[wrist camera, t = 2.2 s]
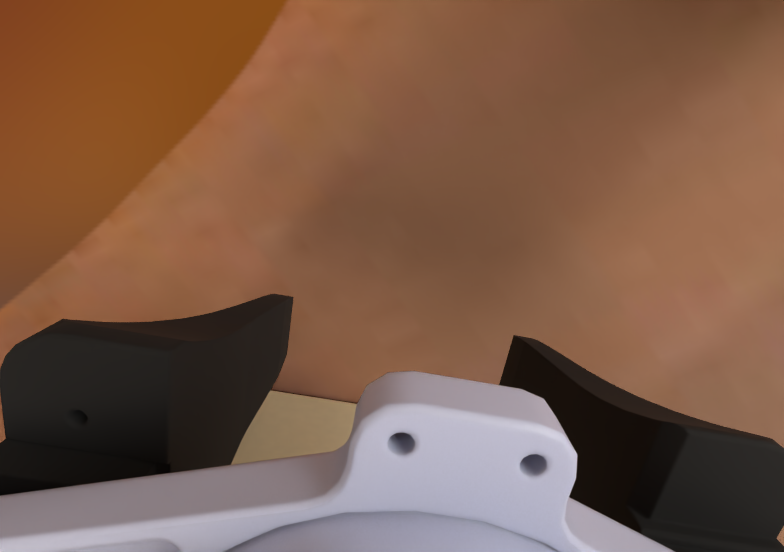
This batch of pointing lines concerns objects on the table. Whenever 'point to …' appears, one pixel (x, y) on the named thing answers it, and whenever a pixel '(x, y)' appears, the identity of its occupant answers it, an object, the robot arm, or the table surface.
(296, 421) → the door
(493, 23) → the table surface
